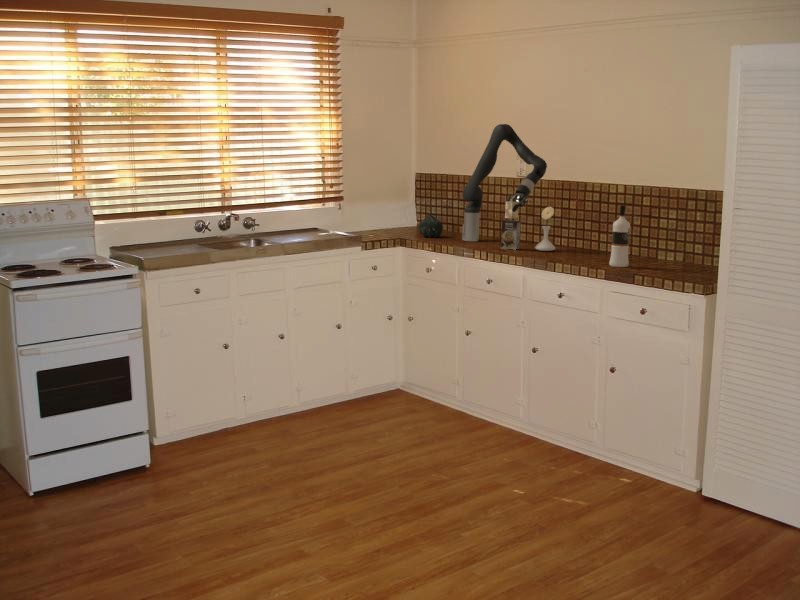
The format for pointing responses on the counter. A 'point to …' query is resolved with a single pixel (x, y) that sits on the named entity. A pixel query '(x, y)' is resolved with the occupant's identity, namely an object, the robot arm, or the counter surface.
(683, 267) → the counter surface
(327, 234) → the counter surface
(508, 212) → the maple block
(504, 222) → the coffee box
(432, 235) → the squash
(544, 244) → the flower in vase
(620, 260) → the vodka
